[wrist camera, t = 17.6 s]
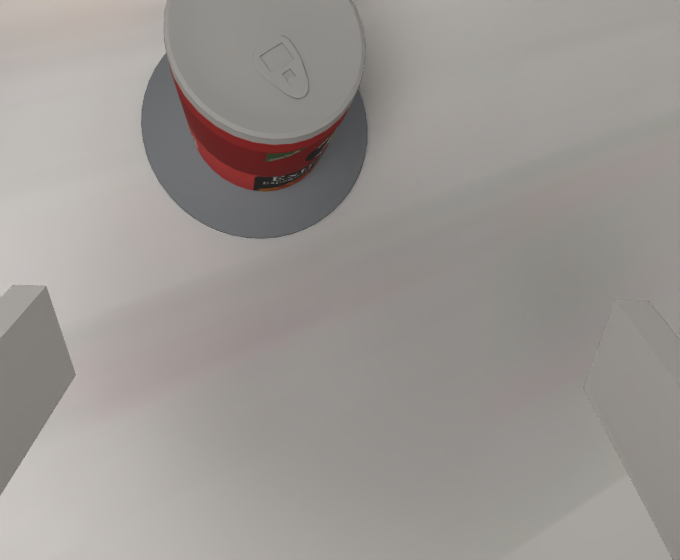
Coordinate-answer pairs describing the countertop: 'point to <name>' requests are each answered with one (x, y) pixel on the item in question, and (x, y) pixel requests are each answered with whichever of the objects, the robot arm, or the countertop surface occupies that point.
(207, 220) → the mat
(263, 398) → the countertop surface
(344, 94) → the canned food
